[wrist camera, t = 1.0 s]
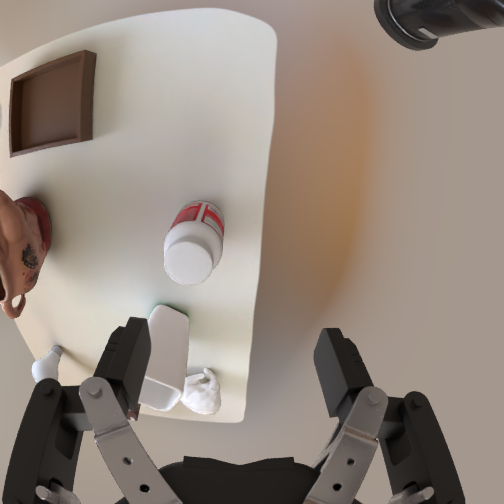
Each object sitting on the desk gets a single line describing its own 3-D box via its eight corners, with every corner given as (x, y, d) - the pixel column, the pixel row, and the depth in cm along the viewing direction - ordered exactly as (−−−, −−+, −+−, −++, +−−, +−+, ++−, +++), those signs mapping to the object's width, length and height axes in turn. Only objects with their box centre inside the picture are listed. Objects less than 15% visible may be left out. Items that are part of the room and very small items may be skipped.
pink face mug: (72, 290, 38) (34, 346, 26) (25, 281, 37) (-14, 326, 24) (55, 172, 29) (-10, 203, 17) (6, 175, 28) (-52, 204, 16)
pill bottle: (173, 237, 35) (152, 283, 25) (182, 194, 33) (160, 226, 23) (218, 249, 36) (212, 298, 26) (230, 207, 34) (228, 244, 24)
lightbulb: (68, 342, 44) (47, 381, 34) (72, 360, 46) (55, 397, 36) (45, 333, 43) (24, 369, 33) (50, 351, 45) (32, 385, 35)
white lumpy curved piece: (219, 421, 42) (157, 411, 42) (224, 387, 50) (167, 378, 50) (219, 405, 39) (150, 394, 39) (224, 368, 47) (162, 359, 47)
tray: (96, 53, 23) (85, 49, 20) (92, 139, 28) (80, 141, 25) (23, 79, 22) (11, 79, 19) (22, 153, 27) (9, 157, 24)
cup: (142, 323, 42) (117, 394, 28) (156, 293, 39) (128, 369, 26) (180, 341, 44) (168, 414, 30) (198, 313, 41) (187, 392, 28)
